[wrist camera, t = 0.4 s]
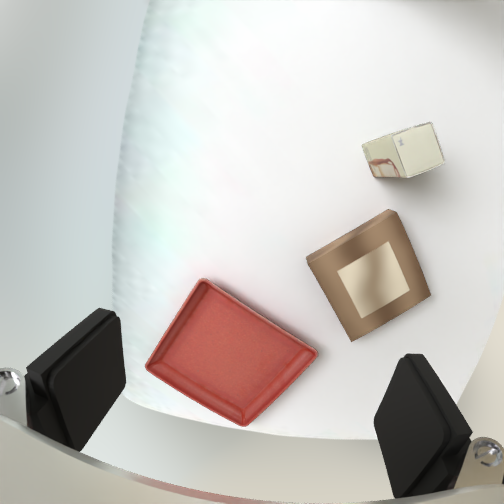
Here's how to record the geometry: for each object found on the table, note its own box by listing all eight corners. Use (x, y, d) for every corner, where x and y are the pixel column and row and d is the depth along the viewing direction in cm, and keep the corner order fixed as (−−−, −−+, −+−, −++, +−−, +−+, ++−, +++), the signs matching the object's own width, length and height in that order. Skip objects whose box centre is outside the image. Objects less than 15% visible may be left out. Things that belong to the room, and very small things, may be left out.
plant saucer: (150, 357, 44) (142, 369, 41) (206, 267, 40) (200, 275, 36) (247, 415, 45) (244, 429, 42) (319, 340, 41) (321, 353, 38)
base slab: (388, 209, 35) (397, 212, 32) (422, 287, 37) (431, 295, 34) (305, 257, 38) (307, 264, 35) (347, 331, 40) (351, 342, 36)
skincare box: (373, 178, 35) (404, 180, 25) (360, 144, 34) (387, 134, 24) (408, 165, 34) (447, 163, 24) (396, 132, 33) (432, 119, 23)
